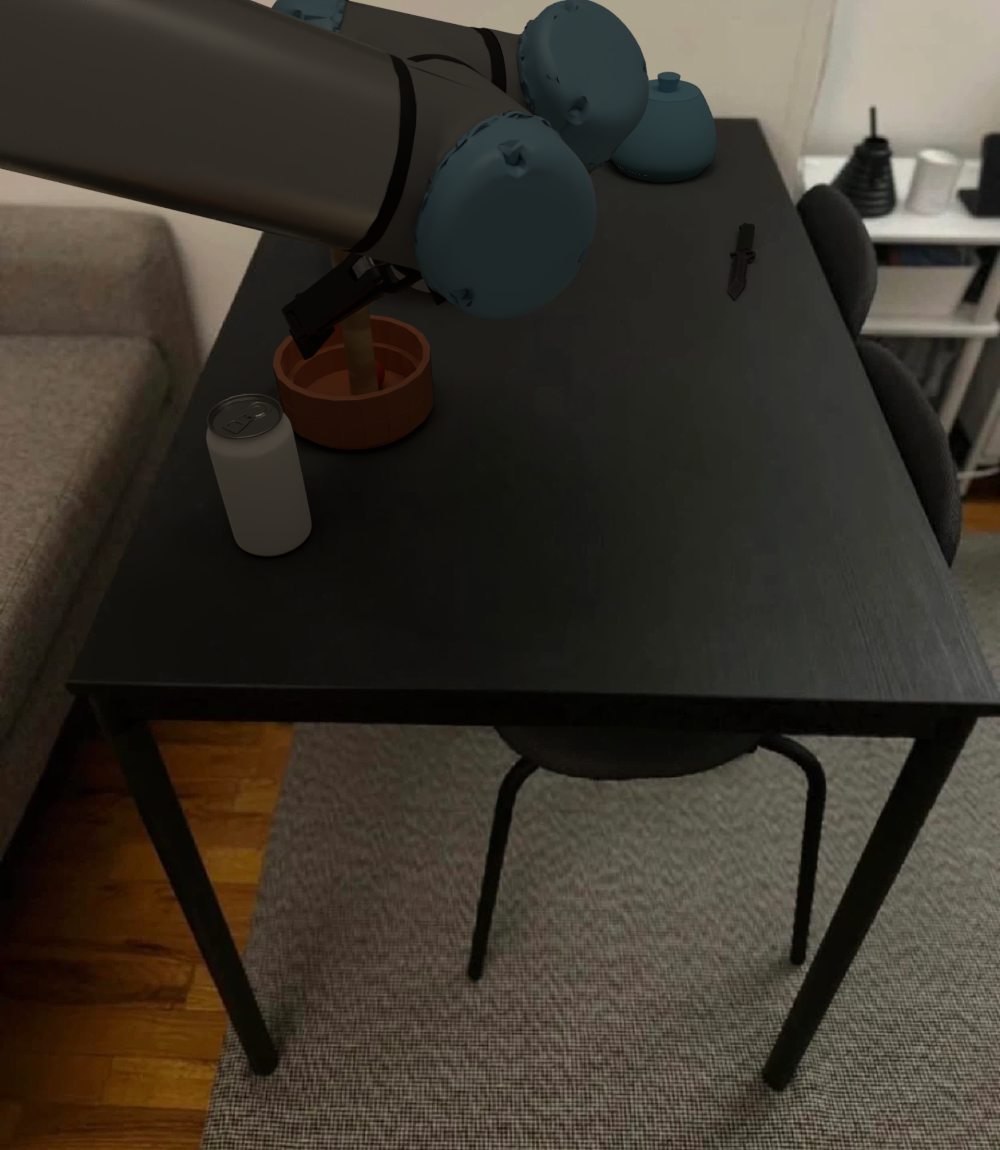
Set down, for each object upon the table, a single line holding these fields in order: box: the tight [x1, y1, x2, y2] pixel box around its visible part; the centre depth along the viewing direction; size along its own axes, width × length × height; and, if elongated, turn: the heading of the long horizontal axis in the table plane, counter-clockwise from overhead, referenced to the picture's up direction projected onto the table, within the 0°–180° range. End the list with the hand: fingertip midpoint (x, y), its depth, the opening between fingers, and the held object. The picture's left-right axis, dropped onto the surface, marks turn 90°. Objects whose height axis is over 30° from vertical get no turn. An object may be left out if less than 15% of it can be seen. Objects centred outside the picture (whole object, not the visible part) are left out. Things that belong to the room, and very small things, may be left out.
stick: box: [329, 248, 379, 396], centre depth 83 cm, size 3×3×18 cm
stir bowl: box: [272, 314, 434, 451], centre depth 89 cm, size 14×14×6 cm
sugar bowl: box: [610, 71, 718, 183], centre depth 127 cm, size 15×15×12 cm
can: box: [205, 393, 313, 558], centre depth 74 cm, size 6×6×12 cm
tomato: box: [375, 360, 385, 387], centre depth 91 cm, size 3×3×3 cm
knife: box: [727, 222, 757, 300], centre depth 110 cm, size 18×1×3 cm
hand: (369, 316), depth 80 cm, fingers open, 13 cm apart
